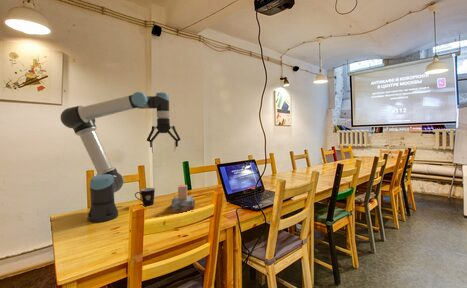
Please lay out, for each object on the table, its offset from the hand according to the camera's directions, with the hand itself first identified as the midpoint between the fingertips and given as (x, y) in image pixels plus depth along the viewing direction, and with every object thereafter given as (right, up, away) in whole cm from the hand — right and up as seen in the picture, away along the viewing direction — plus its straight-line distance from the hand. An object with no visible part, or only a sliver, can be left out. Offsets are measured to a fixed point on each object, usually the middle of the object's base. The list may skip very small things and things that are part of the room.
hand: (164, 152), depth 153 cm
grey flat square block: (+12, -35, -1) cm, 37 cm away
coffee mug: (-14, -35, +8) cm, 38 cm away
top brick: (+12, -29, -1) cm, 31 cm away
